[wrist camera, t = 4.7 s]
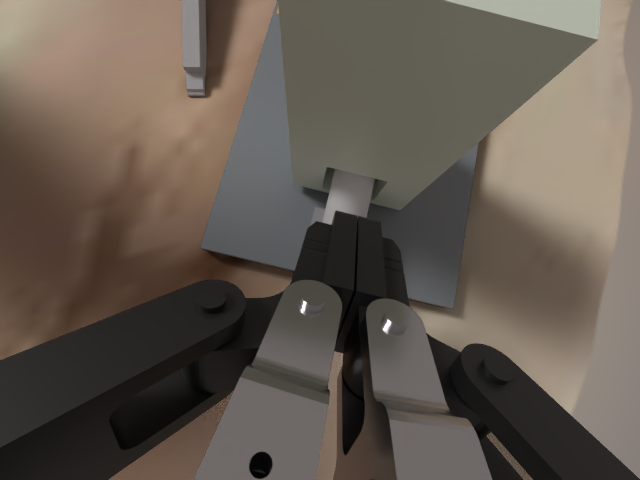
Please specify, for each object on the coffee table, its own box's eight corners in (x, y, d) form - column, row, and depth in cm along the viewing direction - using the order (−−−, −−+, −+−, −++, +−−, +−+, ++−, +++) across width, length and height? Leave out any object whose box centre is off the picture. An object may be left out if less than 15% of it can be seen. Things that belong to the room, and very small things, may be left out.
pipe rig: (205, 250, 17) (173, 235, 13) (306, -77, 22) (307, -169, 17) (445, 307, 18) (491, 312, 13) (497, -28, 22) (545, -107, 18)
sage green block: (293, 184, 17) (274, -43, 5) (314, 104, 18) (335, -234, 6) (399, 210, 17) (598, 40, 6) (415, 129, 18) (613, -160, 6)
